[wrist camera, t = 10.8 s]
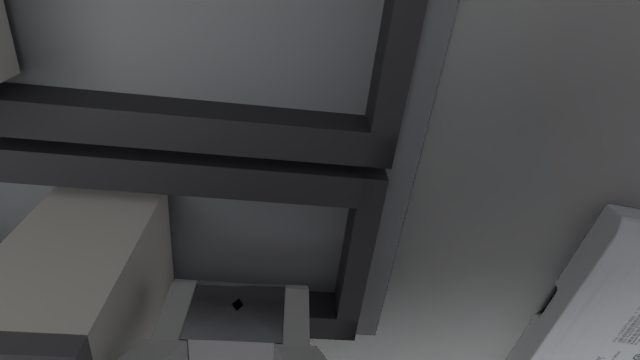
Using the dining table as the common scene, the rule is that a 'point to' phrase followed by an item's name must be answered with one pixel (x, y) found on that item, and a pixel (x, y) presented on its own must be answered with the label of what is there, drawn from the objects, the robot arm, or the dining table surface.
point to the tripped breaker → (84, 275)
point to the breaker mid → (6, 48)
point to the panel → (235, 131)
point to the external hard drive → (593, 298)
